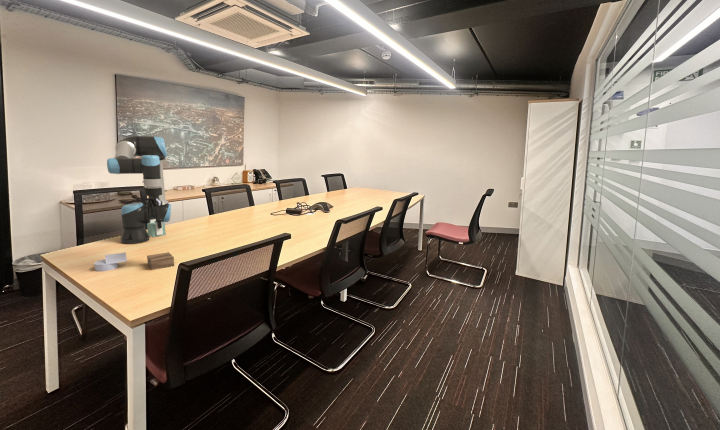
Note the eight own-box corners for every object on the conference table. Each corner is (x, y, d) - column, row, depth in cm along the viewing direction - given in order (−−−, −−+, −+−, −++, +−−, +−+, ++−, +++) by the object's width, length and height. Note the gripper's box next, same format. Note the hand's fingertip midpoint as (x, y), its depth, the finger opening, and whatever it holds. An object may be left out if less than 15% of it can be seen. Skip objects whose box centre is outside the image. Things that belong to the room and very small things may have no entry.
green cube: (147, 235, 177) (146, 223, 175) (160, 233, 181) (159, 221, 180) (152, 237, 173) (151, 225, 172) (165, 235, 177) (164, 223, 176)
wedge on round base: (126, 262, 183) (95, 267, 175) (125, 250, 181) (93, 254, 174) (127, 267, 175) (95, 272, 168) (126, 254, 174) (93, 259, 167)
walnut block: (147, 265, 181) (147, 255, 180) (169, 261, 187) (168, 252, 186) (152, 270, 173) (151, 260, 172) (174, 266, 180) (173, 257, 179)
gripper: (136, 185, 175) (141, 231, 180) (152, 189, 164) (156, 238, 168) (153, 184, 181) (156, 228, 186) (169, 188, 169) (173, 235, 174)
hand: (156, 233), depth 177 cm, fingers closed on green cube, 6 cm apart
